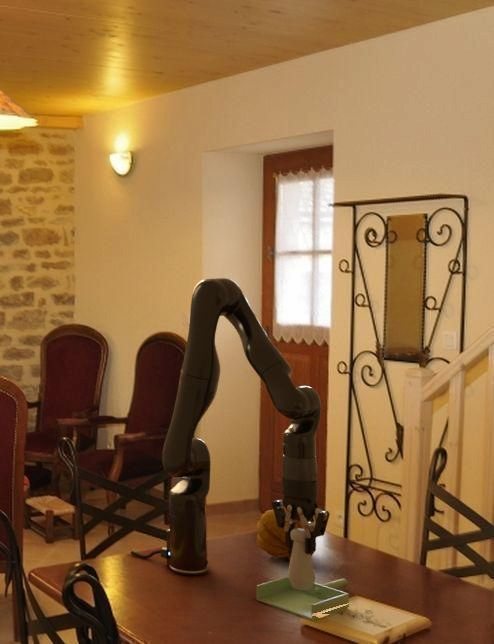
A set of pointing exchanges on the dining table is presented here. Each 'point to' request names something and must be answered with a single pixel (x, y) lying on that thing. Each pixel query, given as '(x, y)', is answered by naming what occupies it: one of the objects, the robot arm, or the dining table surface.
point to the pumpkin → (273, 536)
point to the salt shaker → (300, 563)
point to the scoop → (304, 597)
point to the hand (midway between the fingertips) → (300, 550)
